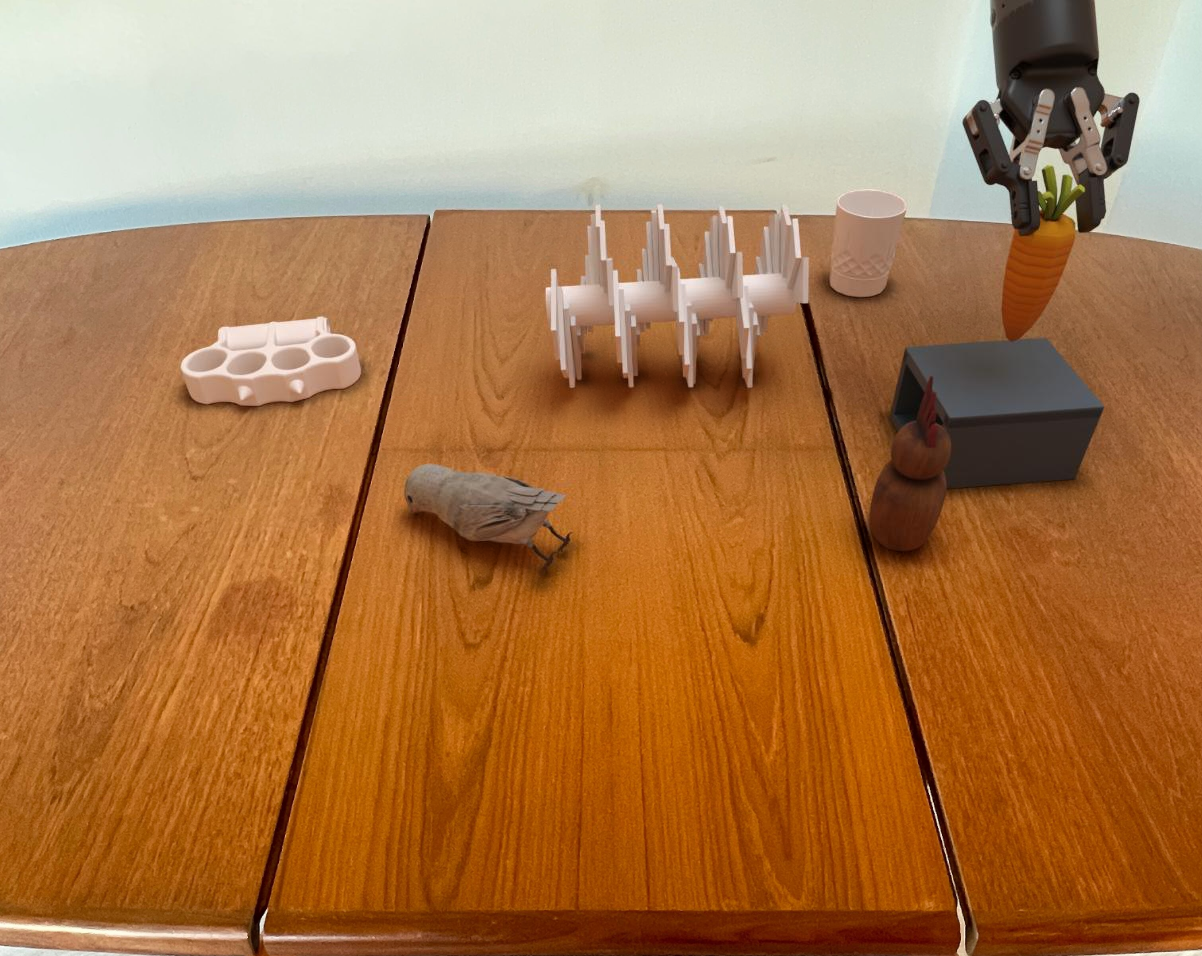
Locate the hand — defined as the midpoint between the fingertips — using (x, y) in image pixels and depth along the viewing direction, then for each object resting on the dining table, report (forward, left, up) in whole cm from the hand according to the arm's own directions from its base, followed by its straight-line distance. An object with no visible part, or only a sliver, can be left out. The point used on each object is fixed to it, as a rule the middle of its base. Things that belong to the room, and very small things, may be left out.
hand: (1060, 229), depth 78 cm
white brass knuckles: (+70, -24, -23) cm, 77 cm away
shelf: (0, -2, -22) cm, 22 cm away
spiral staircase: (+28, -19, -23) cm, 41 cm away
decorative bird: (+48, +6, -23) cm, 53 cm away
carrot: (0, -2, -11) cm, 11 cm away
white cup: (+2, -36, -23) cm, 42 cm away
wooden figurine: (+12, +10, -23) cm, 28 cm away
